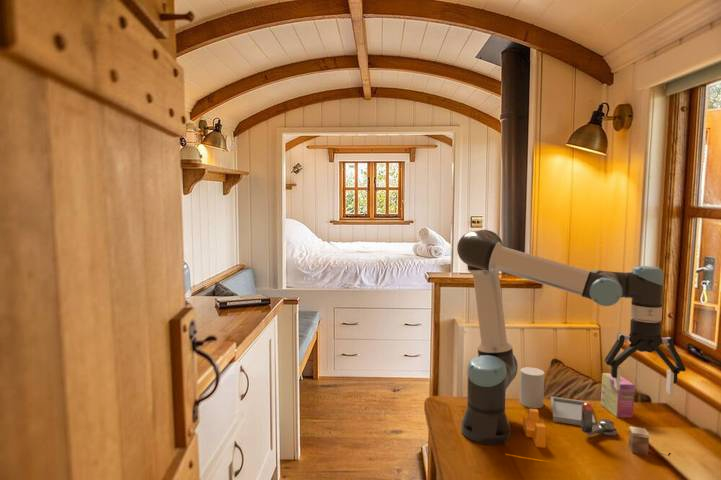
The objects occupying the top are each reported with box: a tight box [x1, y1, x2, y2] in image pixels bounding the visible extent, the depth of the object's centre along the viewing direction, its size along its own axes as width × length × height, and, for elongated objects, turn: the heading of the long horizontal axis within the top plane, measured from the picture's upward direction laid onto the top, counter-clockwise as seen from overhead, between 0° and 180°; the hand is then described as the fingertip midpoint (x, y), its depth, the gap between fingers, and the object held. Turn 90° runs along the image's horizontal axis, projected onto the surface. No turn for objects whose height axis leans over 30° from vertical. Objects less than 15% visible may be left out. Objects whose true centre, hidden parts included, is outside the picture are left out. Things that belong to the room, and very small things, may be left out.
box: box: [600, 372, 636, 419], centre depth 153 cm, size 10×6×12 cm, turn 179°
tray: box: [550, 396, 597, 427], centre depth 151 cm, size 13×17×2 cm
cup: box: [519, 366, 545, 409], centre depth 159 cm, size 8×8×12 cm
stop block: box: [628, 426, 650, 456], centre depth 128 cm, size 4×4×6 cm
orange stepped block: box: [522, 408, 547, 448], centre depth 136 cm, size 12×4×6 cm, turn 169°
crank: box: [580, 402, 615, 436], centre depth 137 cm, size 13×4×10 cm, turn 114°
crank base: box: [598, 427, 618, 438], centre depth 133 cm, size 20×6×1 cm, turn 36°
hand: (642, 391), depth 128 cm, fingers open, 13 cm apart
